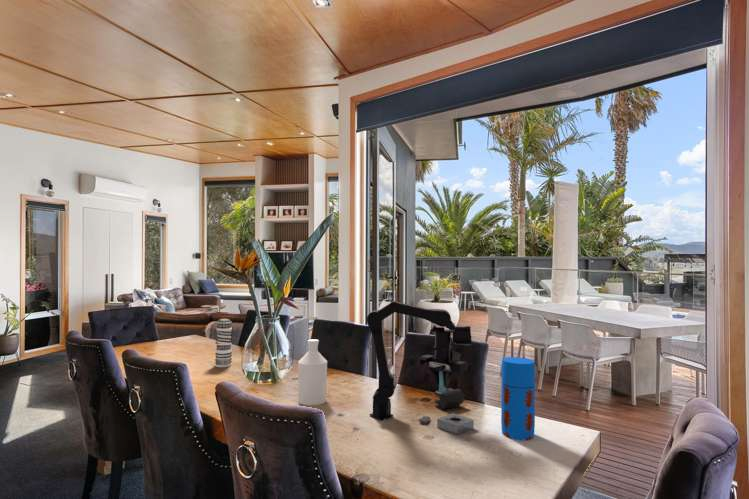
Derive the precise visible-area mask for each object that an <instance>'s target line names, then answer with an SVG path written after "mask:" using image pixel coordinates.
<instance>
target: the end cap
mask: <svg viewBox="0 0 749 499" xmlns="http://www.w3.org/2000/svg"><path fill="white" fill-rule="evenodd" d="M434 397H437V398H439V399H436V398H434V403H435V404H436V405H434V406H435V408H437V409H440V410H442V411H443V410H447V409H451V408H455V407H459V406H460V405H462V404H463V403H464V401H465V395H464V393H463V391H462V389H460V388H456V389H453V388H451V387H449V388H446V392H441V391H439V390H436V391H434Z"/></svg>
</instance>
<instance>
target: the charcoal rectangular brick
mask: <svg viewBox="0 0 749 499" xmlns="http://www.w3.org/2000/svg"><path fill="white" fill-rule="evenodd" d="M430 420H431V417H430V416H427V415H423V416H422V418H420V420H419V424H420V425H428V424H429V422H430Z"/></svg>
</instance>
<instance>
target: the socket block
mask: <svg viewBox="0 0 749 499" xmlns="http://www.w3.org/2000/svg"><path fill="white" fill-rule="evenodd" d="M436 421H437V424H436V427H437V428H438V429H440V430H443V431H446V432H448V433H452V434H455V435H457V436H459V435H461V434H465V433H466V432H469V431H471V430H473V429H474V426H475V424H474V423H475V422H474V421H475V420H474V419H473V418H469V417H466V416H462V415H459V414H456V413H450V414H447V415H444V416H441V417H439V418H437V419H436ZM474 430H475V429H474Z"/></svg>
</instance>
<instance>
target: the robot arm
mask: <svg viewBox="0 0 749 499" xmlns="http://www.w3.org/2000/svg"><path fill="white" fill-rule="evenodd" d="M394 313H396V314H400V315H401V314H402V315H406V316H409V317H413V318H417V319H418V318H419V319H421V320H425V321H428V322H430V323H431V324H434V325H432V327H431V328H430V329H429V332H430V333H434V346H432V350H433V351H434V355H431V354H425V355H421V356H420V357H419V359H418V364H419V365H422V366H425V365H427V364H428V363H429V364H428V367H427V368H428V369H429V370H430V372H431V374H432V375H433V378H434V379H435V381H436V384H437V385H438V387H439V371H442V373H443V381H444V387H445V388H446V389H447V388H448V386H449V384H450V380H451V378H452V375H453V374H454V373H463V372H466V371H468V370H469V365H468V362H466V361H461V360H460V359H461V353H460V352H457V351H455V350H454V347H453V346H452V345H451V344H452V343H453V342H454V344H455V345H457V346H458V345H459V346H472V333H471V326H470V325H466V326H465V325H464V326H462V325H461V326H460V325H459V326H457V325H455V324H456V323H454V322H453V321H452V318H451V314H450V312H449V311H448V310H446V309H441V308H425V307H420V306H417V305H411V304H408V303H403V302H399V301H396V300H392V301H390V303H389V304H387V305H385V306H383V307H382V308H380V309H379V310H377V309H374V310H372V311H371V312H370V313H368V314H367V316H366V323H367V326H368V328H369V331H370V333H371V335H372V338H373V345H374V349H375V350H374V351H375V357H376V362H377V368H378V388H377V389H376V390H375V391H374V393H373V395H372V413H370V414H369V416H370V417H373V418H375V419H378V420H380V421H383V420H385V419H389V418H391V417H394V414H393V413H391V412H392V402H391V398H392V397H393V395H394V394H395V391H396V388H397V384H398V383H397V381H396V373H393V374H392V372H391V371H390V366H389V360H388V353H387V347H386V342H385V337H384V336H385V335H384V330H385V323H384V322H385V319H387V318H388V317H390V316H391V315H393V314H394ZM446 328H447V329H446ZM451 338H452V341H451ZM451 342H452V343H451ZM443 367H445V368H444V369H443Z"/></svg>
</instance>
